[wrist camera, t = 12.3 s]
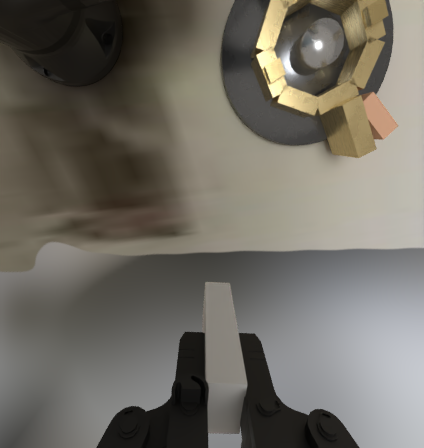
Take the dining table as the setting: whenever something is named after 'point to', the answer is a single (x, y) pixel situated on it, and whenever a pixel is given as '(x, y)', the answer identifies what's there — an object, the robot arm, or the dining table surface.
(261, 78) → the gold octagonal ring
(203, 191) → the dining table surface
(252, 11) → the plate
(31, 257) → the dining table surface
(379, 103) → the block
